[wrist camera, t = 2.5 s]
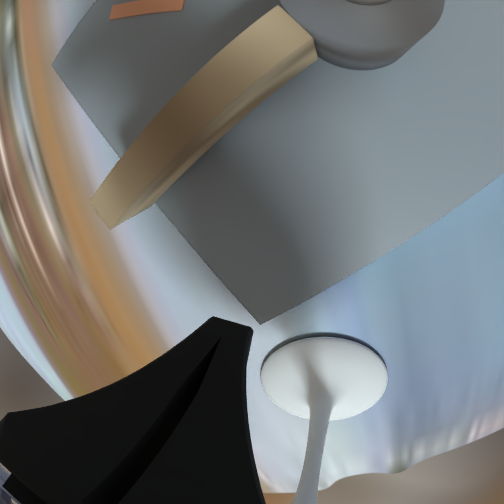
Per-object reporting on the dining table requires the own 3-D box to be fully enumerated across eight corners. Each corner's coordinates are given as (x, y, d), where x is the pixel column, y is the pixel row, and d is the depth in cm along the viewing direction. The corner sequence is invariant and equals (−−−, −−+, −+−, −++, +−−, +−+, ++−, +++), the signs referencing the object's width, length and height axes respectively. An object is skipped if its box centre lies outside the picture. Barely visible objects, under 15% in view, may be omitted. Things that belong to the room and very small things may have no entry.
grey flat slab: (556, 113, 8) (573, 115, 6) (253, 315, 18) (245, 332, 16) (315, -134, 4) (312, -147, 3) (60, 77, 14) (43, 77, 13)
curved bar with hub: (412, -72, 5) (433, -129, 1) (489, 6, 6) (545, -27, 2) (115, 157, 14) (39, 181, 9) (175, 232, 14) (113, 282, 10)
